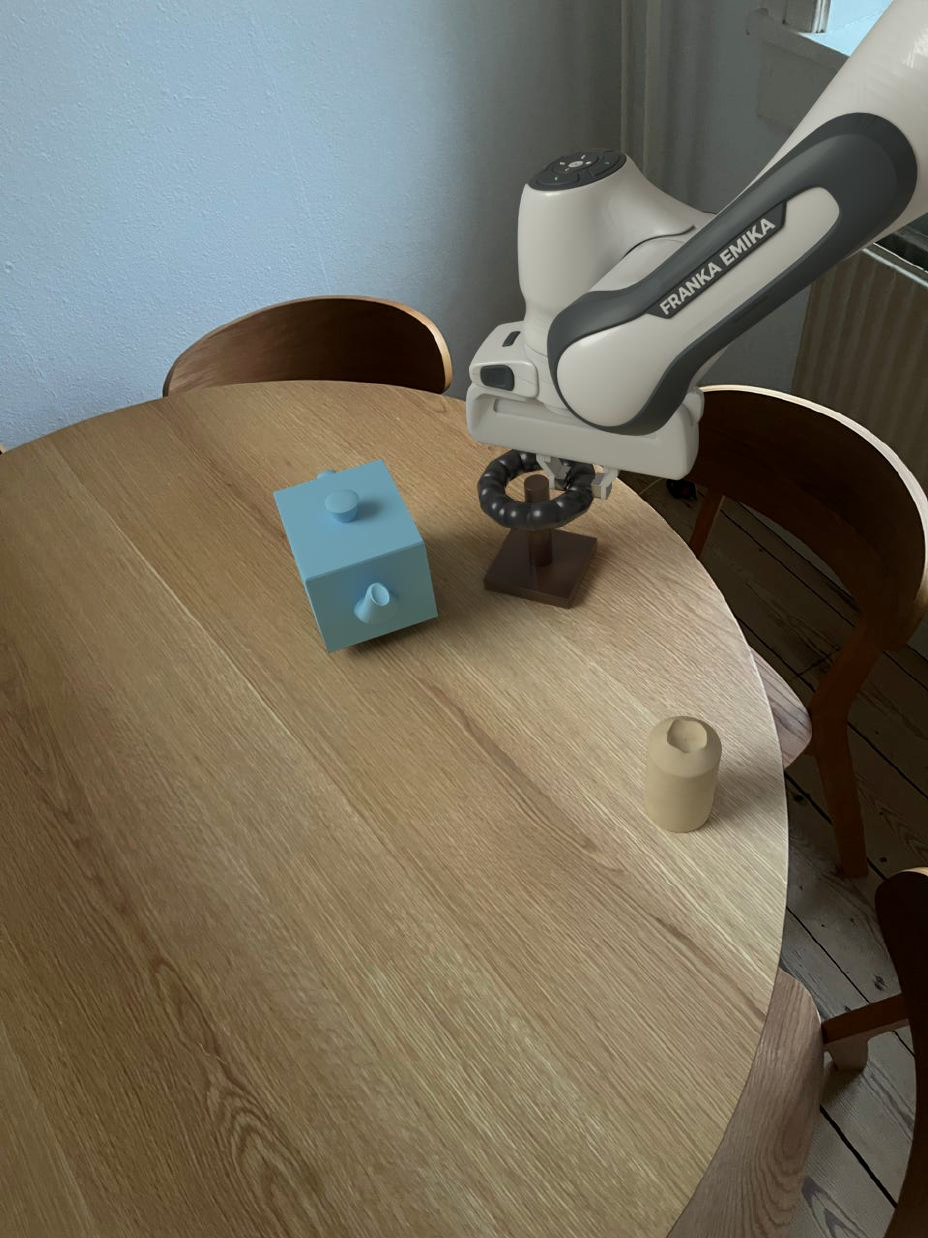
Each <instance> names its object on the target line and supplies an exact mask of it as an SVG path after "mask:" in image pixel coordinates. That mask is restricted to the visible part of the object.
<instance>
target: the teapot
mask: <svg viewBox="0 0 928 1238" xmlns="http://www.w3.org/2000/svg"><path fill="white" fill-rule="evenodd" d="M272 494H273V498H274V500H275V503H276V507H277V509H278V513H279V516H280V518H281V521H282V525H283V528H284V532H285V534H286V537H287V540H288V543H289V546H290V550H291V552H292V555H293V556H292V557H293V559H294V562H295V565H296V568H297V570H298V573H299V577H300V580H301V582H302V584H303V587H304V589H305V593H306V596H307V598H308V601H309V604H310V607H311V610H312V612H313V615H314V618H315V621H316V624H317V626H318V629H319V632H320V636H321V637H322V640H323V643H324V646H325V649H326V652H327V654H331V653H334V652H337V651H340V650H343V649H346V648H349V647H352V646H354V645H357V644H361V643H364V642H366V641H369V640H372V639H375V638H378V637H382V636H384V635H387V634H391V633H393V632H396V631H399V630H402V629H406V628H408V627H411V626H413V625H414V626H415V625H416V624H419V623H423V622H426V621H429V620H431V619H434V618H437V617H438V616H439V615H438V614H439V613H438V609H437V603H436V597H435V592H434V591H435V590H434V587H433V580H432V576H431V575H432V574H431V569H430V564H429V559H428V553H427V548H426V542H425V540H424V539H423V536H422V535H421V532H420V531H419V529H418V526H417V525H416V522H415V521H414V518H413V516H412V514H411V512H410V511H409V509H408V507H407V505H406V503H405V501H404V499H403V497H402V495H401V493H400V491H399V489H398V486H397V485H396V483H395V480H394V479H393V477H392V475H391V473H390V470H389V469H388V467H387V465H386V463H385V461H384V459H383V458H379V459H376V460H373V461H370V462H367V463H363V464H361V465H357V466H354V467H351V468H346V469H343V470H340V471H336V470H334V469H325V470H323V471H321V472H320V473H318V474H317V475H316V478H314V479H311V480H308V481H305V482H303V483H299V484H295V485H292V486H289V487H286V488H282V489H279V490H275V491H273V493H272Z"/></svg>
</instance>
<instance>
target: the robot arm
mask: <svg viewBox="0 0 928 1238" xmlns="http://www.w3.org/2000/svg"><path fill="white" fill-rule="evenodd" d="M925 214H928V0H893V1H892V2H890V3H889V5H888V6H887V8H886V9H885V10H884V11H883V12H882V14H881V15H880V16H879V17H878V19H877V20H876V22H875V23H874V24H873V25H872V27H871V28H870V29H869V30H868V32H867V33H866V34H865V35H864V36H863V38H862V39H861V40H860V42H859V44H858V45H857V46H856V47H855V48H854V50H853V52H852V53H851V54H850V56H849V57H848V58H847V60H846V61H845V62H844V64H843V65H842V66H841V68H840V69H839V70H838V71H837V73H836V74H835V75H834V77H833V78H832V80H830V82H829V83H828V84H827V86H826V88H825V89H824V90H823V92H822V93H821V94H820V96H819V97H818V98H817V100H815V102H814V104H813V105H812V106H811V107H810V109H809V111H808V112H807V113H806V115H805V116H804V117H803V119H802V120H801V121H800V123H799V124H798V125H797V127H796V128H795V129H794V130H793V132H792V133H791V135H790V136H789V137H788V138H787V139H786V141H785V142H784V144H782V146H781V147H780V148H779V149H778V151H777V152H776V153H775V155H774V156H773V157H772V158H771V159H770V160H769V162H768V163H767V164H766V165H765V166H764V168H763V169H762V170H761V171H760V172H759V173H758V174H757V175H756V177H755V178H754V179H753V180H751V182H750V183H749V184H748V185H747V186H746V187H745V188H744V189H743V190H742V191H741V192H740V193H739V194H738V195H737V196H736V197H735V198H734V199H733V200H732V201H731V202H729V203H728V204H727V205H726V206H725V207H724V208H723V209H721V210H720V211H719V212H718V213H716V212H713V211H704V210H700V209H699V210H698V209H696V208H694V207H692V206H690V205H687V204H685V203H684V202H682V201H680V200H678V199H676V198H674V197H673V196H671V195H670V194H668V193H666V192H664V191H663V190H661V189H660V188H658V187H657V186H655V185H654V183H652V182H651V181H650V180H648V179H647V178H646V177H645V176H644V174H643V173H642V172H641V170H640V169H639V167H638V166H637V165H636V163H635V162H634V160H633V159H632V157H630V156H629V155H628V154H626V153H625V152H623V151H620V150H616V149H611V148H607V147H594V148H585V149H579V150H576V151H575V150H574V151H573V152H570V153H567V154H564V155H560V156H557V157H556V158H554V159H553V160H551V161H549V162H548V163H546V164H544V166H542V167H541V168H540V169H539V170H537V171H536V172H535V173H533V175H532V176H531V177H530V178H529V180H528V181H527V182H526V183H525V185H524V186H523V190H522V193H521V197H520V202H519V209H518V221H517V265H518V266H517V267H518V280H519V281H518V282H519V287H520V291H521V294H522V296H523V299H524V302H525V314H524V318H523V320H520V321H514V322H507V323H501V324H499V325H497V326H496V327H495V328H494V329H493V330H492V331H491V332H490V333H489V334H488V336H487V337H486V339H485V340H484V341H483V342H482V344H481V345H480V346H479V347H478V349H477V351H476V353H475V354H474V357H473V358H472V360H471V362H470V364H469V366H468V373H469V374H468V375H469V379H470V381H471V384H470V385H469V387H468V388H467V391H466V397H465V418H466V419H465V420H466V428H467V432H468V434H469V435H470V436H471V437H472V439H473V440H474V441H475V442H477V443H478V444H481V445H488V446H489V445H490V446H494V447H499V448H503V449H510V450H511V449H514V450H520V451H525V452H530V453H536V460H537V462H538V463H539V464H540V466H541V467H542V468H543V470H544V471H543V470H542V471H543V472H544V473H545V474H546V475H547V476H548V480H549V487H550V490H554V491H559V492H563V493H564V492H566V490H567V489H568V487H569V485H570V481H571V476H570V473H571V467H568V466H563V465H562V463H561V462H560V460H559V458H562V459H568V460H573V461H578V462H584V463H589V464H593V466H595V465H596V466H600V467H602V472H599V471H597V472H596V475H595V479H594V480H593V481H592V483H591V491H592V492H591V497H594V499H600V500H604V501H608V499H609V497H610V495H611V493H612V490H613V482H614V481H615V480H616V479H617V478H618V477H619V474H620V472H621V471H626V472H631V473H637V474H643V475H647V476H648V475H649V476H653V477H658V478H664V479H670V480H674V481H679V480H681V479H683V478H685V476H687V475H688V474H690V472H691V471H692V469H693V466H694V465H695V462H696V460H697V456H698V453H699V445H700V443H699V439H700V437H699V436H700V435H699V433H700V432H699V430H700V429H699V423H700V421H701V420H702V418H703V416H704V409H705V394H704V392H703V390H702V389H700V387H699V386H698V385H697V384H698V383H699V382H700V380H701V379H703V377H704V376H705V375H706V373H708V371H709V370H710V369H711V368H712V366H713V365H714V364H715V363H716V362H717V361H718V360H719V359H720V357H721V356H722V355H723V354H724V353H725V352H726V351H727V349H728V348H729V347H730V346H731V345H732V344H733V342H735V341H736V340H737V339H738V338H740V337H741V336H742V335H744V334H745V333H746V332H747V331H749V330H750V329H752V328H753V327H754V326H755V325H757V324H758V323H760V322H762V320H764V319H765V318H766V317H768V316H769V315H771V314H772V313H774V311H776V310H778V309H779V308H780V307H781V306H782V305H784V304H786V303H787V302H788V301H789V300H791V299H792V298H793V297H795V296H796V295H797V294H799V293H800V292H802V291H803V290H805V289H806V288H807V287H809V286H810V285H812V284H813V283H815V282H816V281H817V280H818V279H820V278H821V277H822V276H824V275H825V274H827V273H828V272H829V271H831V270H832V269H834V268H835V267H837V266H838V265H840V264H841V263H843V262H844V261H847V259H849V258H851V257H853V256H855V255H856V254H858V253H860V252H862V251H863V250H864V249H866V248H868V247H870V246H872V245H873V244H876V242H878V241H880V240H882V239H884V238H886V237H887V236H890V235H891V234H893V233H894V232H896V231H898V230H899V229H901V228H903V227H904V226H906V225H908V224H910V223H912V222H913V221H915V220H917V219H918V218H920V217H922V216H924V215H925Z"/></svg>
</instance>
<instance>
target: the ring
mask: <svg viewBox="0 0 928 1238" xmlns="http://www.w3.org/2000/svg"><path fill="white" fill-rule="evenodd" d="M559 460H560V462H561V463H562V465H563V466H568V467H571V473H570V476H571V481H570V484H569V486H568V487H567V490H566V492H564V491H563V493H561V494H558V495H557V496H556V497H554V498H552V499H550V500H548V501H542V502H537V503H528V502H525V501H523V500H516V499H514V498H512V497H511V496H510V495H509V494H508V493H507V491H506V489H507V488H508V485H509V484H510V482H512V481H514V480H516V479H517V478H519V477H520V476H522V475H524V474H530V473H536V472H540V471H541V472H542V471H543V472H545V471H544V470H543V468H542V467H541V466H540V464H539V463H538V462H537V460H536V453H530V452H525V451H520V450H514V449H510V450H508V451H506V452H505V453H502V454H501V455H500V456H498V457H496V458H494V459H492V460H490V462H489V463H488V464H487V465H486V468H485V469H484V471H483V472H482V474H481V476H480V477H479V479H478V480H477V483H476V491H477V497H478V502H479V506H480V509H481V511H482V512H483V513H484V514H485V515H486V516H488V517H489V518H491V519H492V520H493V521H494V522H495V523H497V524H498V525H499V526H502V528H504V529H505V528H506V529H516V530H521V531H526V532H538V531H543V530H549V529H560V528H563V527H565V526H567V525H568V524H570V523H571V522H573V521H575V520H577V519H578V518H579V517H581V516H583V515H584V514H585V513H587V512H588V511H589V509H590V508H591V506H592V504H593V502H594V500H595V498H594V497H591V492H592V491H591V483H592V481H593V480H594V479H595V475H596V473H597V472H596V470H595V467H594V466H595V465H594V464H589V463H584V462H578V461H573V460H568V459H562V458H559Z"/></svg>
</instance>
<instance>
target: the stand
mask: <svg viewBox="0 0 928 1238" xmlns="http://www.w3.org/2000/svg"><path fill="white" fill-rule="evenodd" d="M550 490H551V489H550V482H549V477H547V476H546V475H543V474H539V473H538V474H537V473H536V474H531V475H528V476H527V477H526V478H524V480H523V494H524V495H523V496H524V497H523V498H524V502H528V503H537V502H542V501H548V500H551V491H550ZM509 529H510V528H509ZM597 549H598V538H597V537H595V536H590V535H586V534H581V533H576V532H572V531H567V530H563V529H559V528H555V529H549V530H543V531H538V532H526V531H521V530H516V529H510V530H509V532H508V533H507V535H506V537H505V539H504V540H503V542H502V544H501V546H500V548H499V549H498V551H497V553H496V554H495V556H494V558H493V559H492V562H491V564H490V565H489V567H488V569H487V570H486V573H485V575H484V576H483V579H482V581H483V589H484V590H487V591H492V592H496V593H500V594H504V595H508V596H512V597H515V598H520V599H524V600H529V601H532V602H537V603H540V604H545V605H550V606H554V607H557V608H561V609H565V610H569V609H570V607H571V605H572V603H573V601H574V598H575V596H576V595H577V592H578V590H579V588H580V586H581V583H582V581H583V579H584V577H585V575H586V573H587V571H588V569H589V567H590V564H591V562H592V560H593V559H594V555H595V553H596V551H597Z"/></svg>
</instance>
